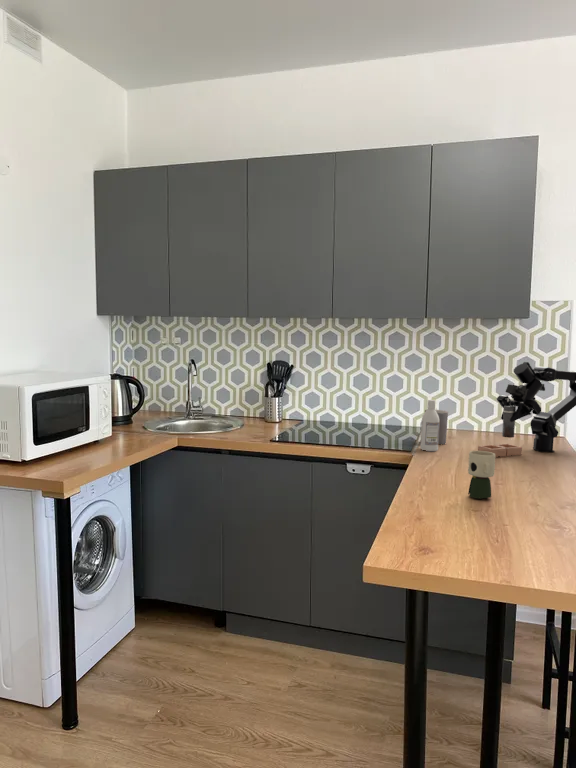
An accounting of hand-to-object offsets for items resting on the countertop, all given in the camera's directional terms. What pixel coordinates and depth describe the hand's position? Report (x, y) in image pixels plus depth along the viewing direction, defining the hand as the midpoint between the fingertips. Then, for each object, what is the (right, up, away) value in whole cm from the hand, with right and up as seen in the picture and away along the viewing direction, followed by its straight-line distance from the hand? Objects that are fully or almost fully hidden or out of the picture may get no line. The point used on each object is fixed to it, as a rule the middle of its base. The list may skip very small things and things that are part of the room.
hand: (506, 420), depth 233 cm
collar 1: (-6, -13, -1) cm, 15 cm away
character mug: (-31, -18, -63) cm, 73 cm away
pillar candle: (-23, -11, +20) cm, 33 cm away
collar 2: (+1, -13, +2) cm, 13 cm away
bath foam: (-29, -12, +4) cm, 32 cm away
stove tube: (+1, -6, +1) cm, 7 cm away
